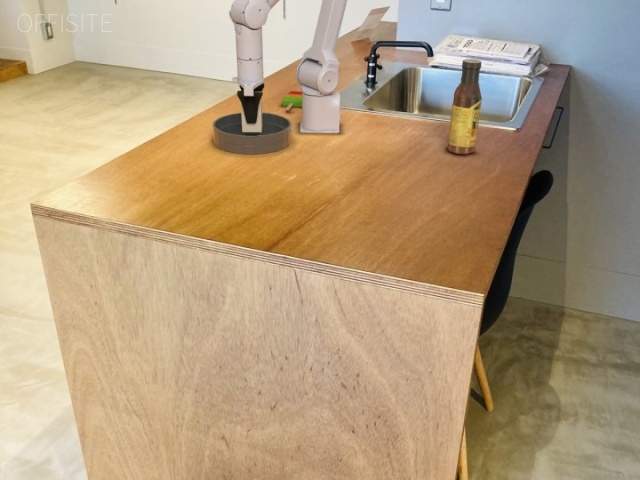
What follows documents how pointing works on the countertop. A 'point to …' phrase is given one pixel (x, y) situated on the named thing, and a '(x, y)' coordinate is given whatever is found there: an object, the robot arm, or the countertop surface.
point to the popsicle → (292, 99)
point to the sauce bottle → (465, 110)
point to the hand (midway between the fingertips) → (252, 119)
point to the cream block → (252, 126)
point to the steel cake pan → (252, 134)
